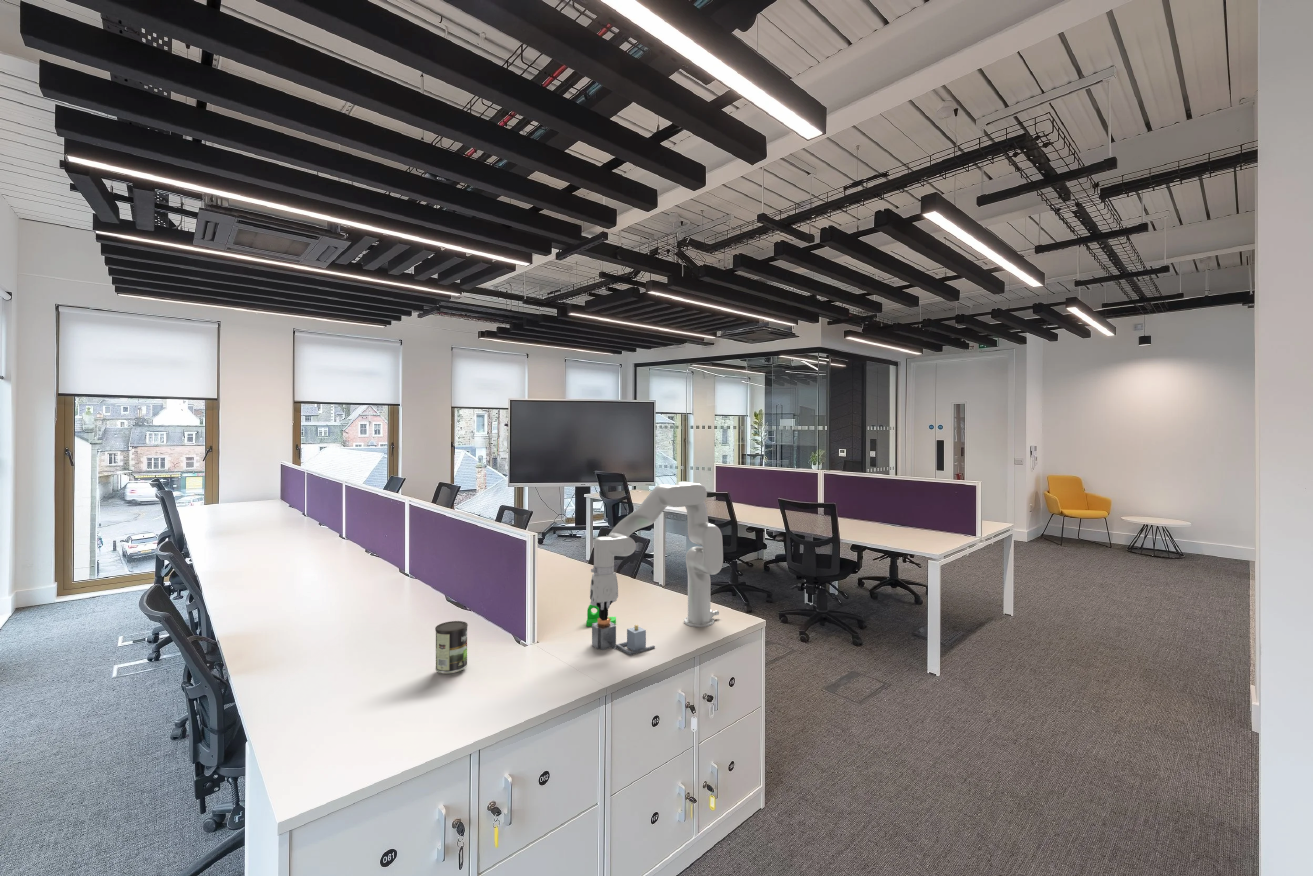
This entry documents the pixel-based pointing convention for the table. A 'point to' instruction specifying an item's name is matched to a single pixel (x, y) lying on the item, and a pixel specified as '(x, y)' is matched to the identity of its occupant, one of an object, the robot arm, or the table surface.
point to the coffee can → (451, 646)
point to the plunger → (603, 622)
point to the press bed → (621, 647)
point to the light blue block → (636, 638)
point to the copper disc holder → (603, 636)
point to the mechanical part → (595, 616)
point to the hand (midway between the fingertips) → (603, 618)
